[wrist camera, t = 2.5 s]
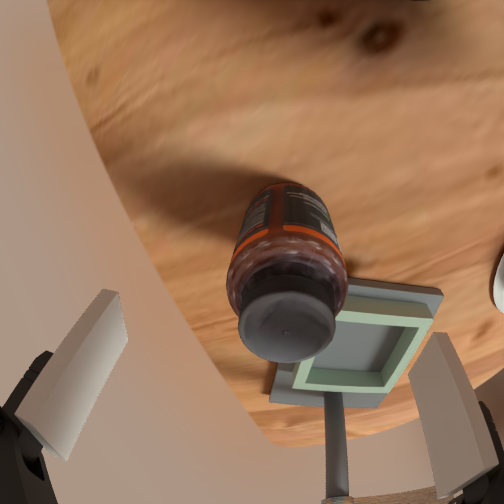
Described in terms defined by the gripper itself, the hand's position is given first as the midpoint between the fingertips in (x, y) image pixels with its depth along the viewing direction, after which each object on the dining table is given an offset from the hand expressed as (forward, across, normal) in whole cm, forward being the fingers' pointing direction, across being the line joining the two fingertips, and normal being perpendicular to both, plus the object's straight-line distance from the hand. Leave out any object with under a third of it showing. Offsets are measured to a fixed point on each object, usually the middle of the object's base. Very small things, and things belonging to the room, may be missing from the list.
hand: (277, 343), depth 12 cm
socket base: (+12, +8, -13) cm, 19 cm away
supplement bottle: (+12, 0, 0) cm, 12 cm away
